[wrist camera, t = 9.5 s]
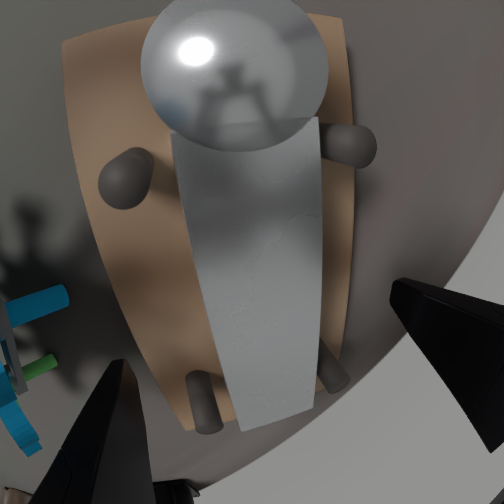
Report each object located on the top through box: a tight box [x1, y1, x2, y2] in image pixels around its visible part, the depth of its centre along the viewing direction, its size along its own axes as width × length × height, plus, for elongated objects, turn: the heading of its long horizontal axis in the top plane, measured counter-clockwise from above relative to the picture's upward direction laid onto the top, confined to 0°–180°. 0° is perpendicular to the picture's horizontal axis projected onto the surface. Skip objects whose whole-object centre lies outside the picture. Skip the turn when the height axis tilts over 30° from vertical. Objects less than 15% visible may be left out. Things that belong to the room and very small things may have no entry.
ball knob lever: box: [141, 0, 329, 432], centre depth 9 cm, size 16×4×3 cm, turn 7°
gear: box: [0, 284, 69, 457], centre depth 8 cm, size 11×6×10 cm
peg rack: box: [61, 13, 377, 434], centre depth 11 cm, size 20×10×4 cm, turn 7°
